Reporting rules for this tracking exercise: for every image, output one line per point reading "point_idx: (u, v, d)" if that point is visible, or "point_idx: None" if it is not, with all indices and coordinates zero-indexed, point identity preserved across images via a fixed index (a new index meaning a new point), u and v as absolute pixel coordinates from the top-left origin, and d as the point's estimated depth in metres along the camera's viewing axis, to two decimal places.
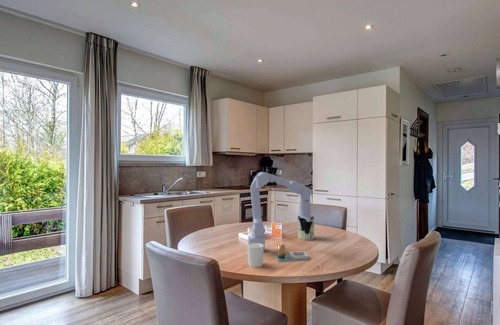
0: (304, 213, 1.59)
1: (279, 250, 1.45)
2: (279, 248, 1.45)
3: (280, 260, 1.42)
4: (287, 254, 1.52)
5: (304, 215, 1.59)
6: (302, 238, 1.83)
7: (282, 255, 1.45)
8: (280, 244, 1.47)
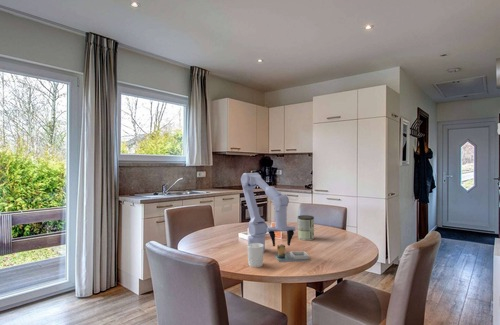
0: None
1: (279, 250, 1.45)
2: (279, 248, 1.45)
3: (280, 260, 1.42)
4: (287, 254, 1.52)
5: None
6: (302, 238, 1.83)
7: (282, 255, 1.45)
8: (280, 244, 1.47)
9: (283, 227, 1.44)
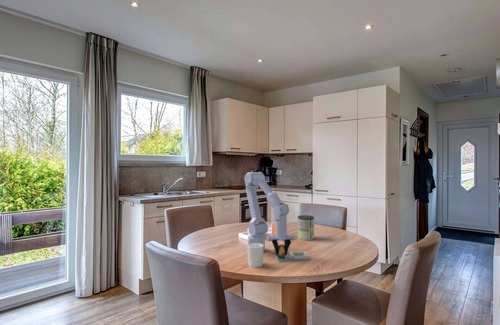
0: None
1: (279, 250, 1.45)
2: (279, 248, 1.45)
3: (280, 260, 1.42)
4: (287, 254, 1.52)
5: None
6: (302, 238, 1.83)
7: (282, 255, 1.45)
8: (280, 244, 1.47)
9: (283, 236, 1.44)
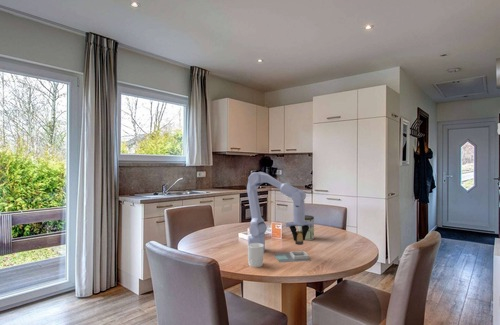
0: (293, 218, 1.49)
1: (298, 236, 1.46)
2: (297, 234, 1.46)
3: (280, 260, 1.42)
4: (287, 254, 1.52)
5: None
6: None
7: (300, 241, 1.46)
8: None
9: (301, 222, 1.45)
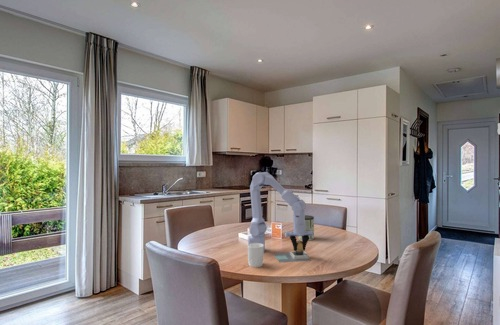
0: None
1: (298, 246, 1.46)
2: (297, 244, 1.46)
3: (280, 260, 1.42)
4: (287, 254, 1.52)
5: None
6: None
7: (300, 251, 1.46)
8: (298, 240, 1.48)
9: (301, 232, 1.45)
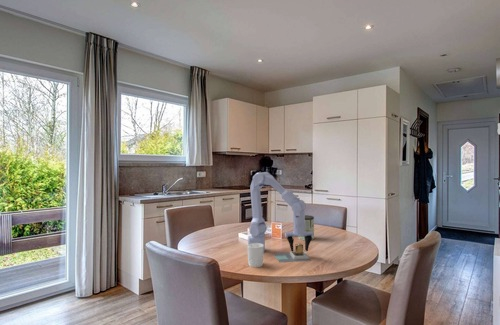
0: None
1: (298, 249, 1.46)
2: (297, 247, 1.46)
3: (280, 260, 1.42)
4: (287, 254, 1.52)
5: None
6: (302, 238, 1.83)
7: (300, 254, 1.46)
8: (298, 243, 1.48)
9: (301, 232, 1.45)
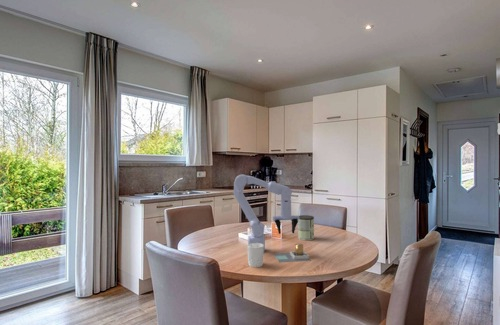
0: None
1: (298, 249, 1.46)
2: (297, 247, 1.46)
3: (280, 260, 1.42)
4: (287, 254, 1.52)
5: None
6: (302, 238, 1.83)
7: (300, 254, 1.46)
8: (298, 243, 1.48)
9: (288, 216, 1.56)
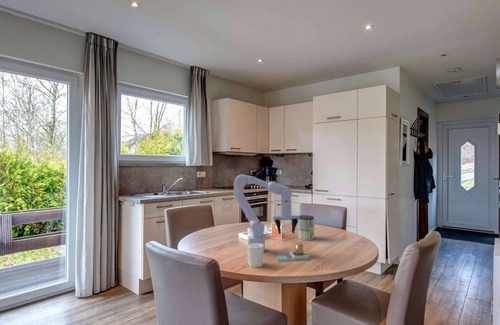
0: None
1: (298, 249, 1.46)
2: (297, 247, 1.46)
3: (280, 260, 1.42)
4: (287, 254, 1.52)
5: None
6: (302, 238, 1.83)
7: (300, 254, 1.46)
8: (298, 243, 1.48)
9: (288, 216, 1.56)
